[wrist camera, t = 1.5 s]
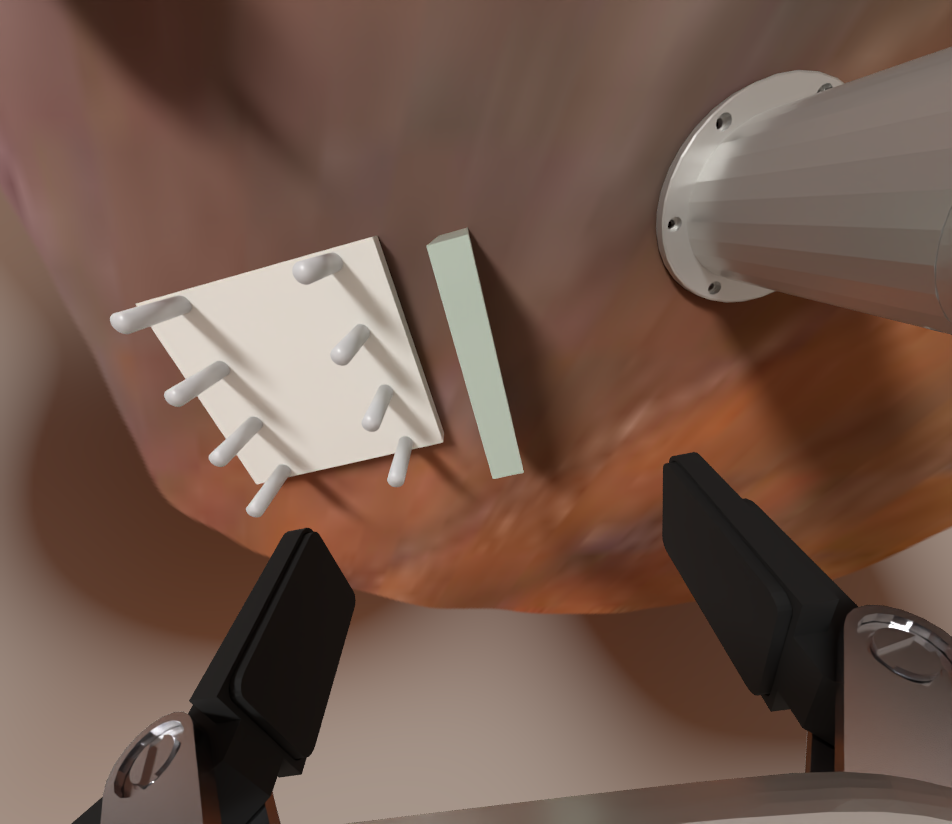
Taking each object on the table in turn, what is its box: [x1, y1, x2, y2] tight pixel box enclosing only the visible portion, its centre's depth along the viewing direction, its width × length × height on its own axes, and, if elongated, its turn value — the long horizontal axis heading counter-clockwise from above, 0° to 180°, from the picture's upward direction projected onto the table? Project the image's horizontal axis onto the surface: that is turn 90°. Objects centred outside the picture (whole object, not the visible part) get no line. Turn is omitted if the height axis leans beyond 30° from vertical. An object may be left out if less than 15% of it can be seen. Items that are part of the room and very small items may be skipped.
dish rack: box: [110, 236, 444, 517], centre depth 27 cm, size 17×16×6 cm
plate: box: [427, 228, 524, 479], centre depth 24 cm, size 14×2×9 cm, turn 14°
